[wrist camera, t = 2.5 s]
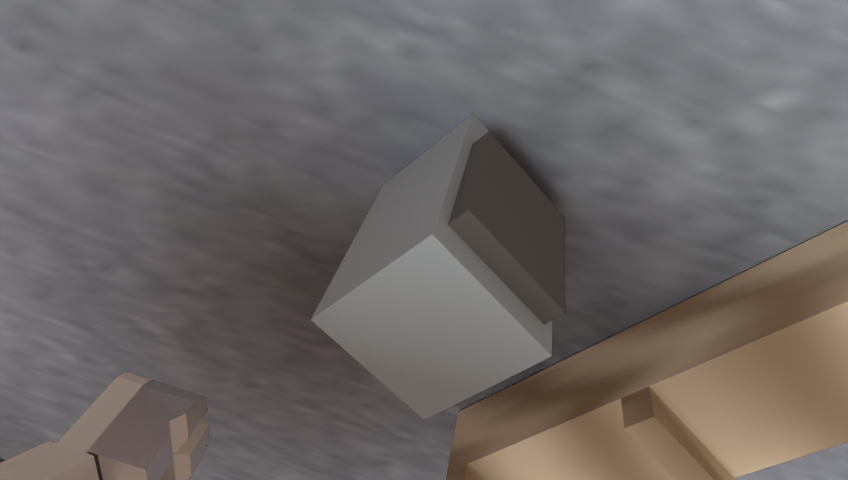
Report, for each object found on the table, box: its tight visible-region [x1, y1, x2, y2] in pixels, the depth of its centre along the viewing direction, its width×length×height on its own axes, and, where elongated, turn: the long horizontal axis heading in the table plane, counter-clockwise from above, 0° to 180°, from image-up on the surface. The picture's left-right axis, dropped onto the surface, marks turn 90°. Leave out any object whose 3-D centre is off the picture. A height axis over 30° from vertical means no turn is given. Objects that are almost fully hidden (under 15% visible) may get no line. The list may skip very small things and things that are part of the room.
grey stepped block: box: [311, 113, 566, 420], centre depth 17 cm, size 5×4×7 cm
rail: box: [446, 221, 848, 480], centre depth 16 cm, size 24×5×10 cm, turn 132°
